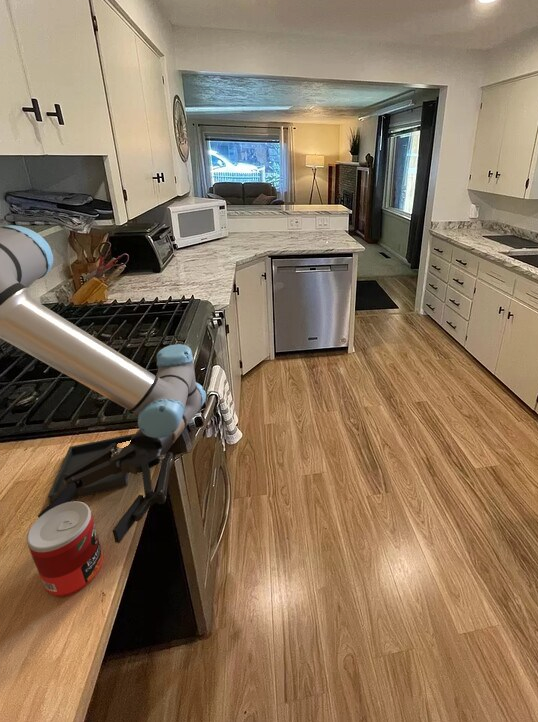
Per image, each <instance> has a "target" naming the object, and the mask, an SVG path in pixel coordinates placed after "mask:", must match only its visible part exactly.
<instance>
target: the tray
mask: <svg viewBox="0 0 538 722" xmlns="http://www.w3.org/2000/svg"><path fill="white" fill-rule="evenodd" d="M135 434H136V433H130V434H127V435H126V434H125V435H121V436H115V437H110V438H106V439H102V440H101V439H100V440H97V441H91V442H85V443H82V444H76V445H71V446H69V448H68V450H67V452H66V454H65V456H64V459H63V461H62V463H61V465H60V468H59V470H58V473H57V475H56V477H55V479H54V481H53V484H52V486H51V488H50V490H49V493H48V495H47V498H48V501H49V504H50V503H51V502H52V498H53V497H54V496H55V495H56V494H57V493H58V492H59V491H60V490H61V489H62V488H63V487H64V486H65V484H64V481H63V478H62V475H63V474H64V473H66V472H68V471H69V470H71V469H73V468H75V467H76V466H78V465H80V464H82V463H83V462H85V461H87V460H89V459H90V458H92V457H94V456H96V455H97V454H99V453H101V452H103V451H104V450H105V449H107V448H108V447H109V446H110V445H111V444H113V443H116V444H118V443H122V442H126V441H130V440H132V438H133V436H134V435H135ZM116 466H117V467H119V466H120V465H119V461H117V462H116ZM129 478H130V473H123V472H120V473H118V474H116V475H115V474H111V475H109V476H107V477H105V478H103V479H101V480H98V481H96V482H94V483H92V484H90V485H88V486H86V487H83V488H81V489H79V490H77V492H78V495H77V496H76V497H75V498H74V499H78V498H83V497H87V496H90V495H95V494H99V493H103V492H108V491H112V490H116V489H120V488H124V487H128V484H129V483H128V482H129ZM77 483H79V481H78V482H77ZM74 499H73V500H74Z"/></svg>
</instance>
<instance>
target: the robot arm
mask: <svg viewBox="0 0 538 722" xmlns="http://www.w3.org/2000/svg"><path fill="white" fill-rule="evenodd" d="M53 265H54V254H53V251H52V248H51V245H49V243H48V242H47V240H45V238H44V237H43V236H41V235H40V234H39V233H38V232H35V231H34V230H32V229H30V228H28V227H25V226H21V225H15V224H14V225H13V224H12V225H11V224H9V225H0V339H1V340H3V341H4V342H6V343H8V344H10V345H12V346H14V347H16V348H17V349H19V350H20V351H23V352H24V353H26V354H27V355H30V356H31V357H33V358H35V359H37V360H39V362H42V363H44V364H45V365H48V366H49V367H51V368H53V369H54V370H56V371H58V372H60V373H62V374H64V375H66V376H67V377H69V378H71V379H73V380H75V381H76V382H78V383H80V384H81V385H83V386H85V387H87V388H88V389H91V390H93V391H94V392H96V393H98V394H99V395H101V396H103V397H104V398H106V399H108V400H110V401H111V402H113V403H115V404H117V405H119V406H121V407H122V408H124V409H126V410H129V411H130V412H131V413H132V414H134V415H136V416H137V426H138V428H139V429H138V430H137V432H136V433H134V434H135V435H134V436H133V438H132V440H131V442H130V444H129V445H128V446H126V447H124V448H119V447H117V444H116V443H113V444H111V445H110V446H109V447H108V448H107V449H105V450H104V451H103V452H101V453H99V454H97V455H96V456H94V457H92V458H90V459H89V460H87V461H85V462H83V463H82V464H80V465H78V466H76V467H75V468H73V469H71V470H69V471H68V472H66V473H64V474H63V475H62V478H63V481H64V484H65V486H64V487H63V488H62V489H61V490H60V491H59V492H58V493H57V494H56V495H55V496H54V497H53V498H52V502H51V503H50V502H49V504H48V505H47V506H46V507H44V509H43V510H41V512H40V513H39V514H38V515H37V517H38V518H39V517H40V516H42V515H43V514H44V513H45V512H47V511H49V510H50V509H52V508H54V507H56V506H58V505H61V504H63V503H67V502H73V500H74V498H75V497H76V496H77V495H78V492H77V490H79V489H81V488H83V487H86V486H88V485H90V484H92V483H94V482H96V481H98V480H101V479H103V478H105V477H107V476H109V475H111V474H115V475H116V474H118V473H120V472H123V473H129V474H132V475H135V476H137V475H138V474H141V475H142V483H143V493H144V494H138V495H137V496H136V498H135V499H134V500H133V501H132V503H131V504H130V506H129V507H128V509H127V510H126V511H125V512H124V514H123V515H122V517H121V518H120V519H119V520H118V522H117V523H116V524H115V526H114V527H113V528H112V529H111V532H112V536H113V539H114V542H115V543H116V544H120V543H121V542H122V540H123V539H124V538H125V536H127V533H128V532H129V531H130V529H131V528H132V527H133V525H134V524H135V522H140V521H141V520H142V519H143V517H144V516H145V514H146V513H147V511H148V510H149V509H150V507H152V506H153V505H154V504H158V505H160V506H161V505H164V504H165V503H166V502H167V495H168V486H169V480H170V473H171V469H172V468H173V466H174V464H175V459H174V455H173V451H169V450H170V449H171V447H172V446H173V444H175V443H176V441H177V440H178V438H179V437H180V436H181V434H183V432H184V430H185V429H186V427H187V426H189V424H190V422H191V421H192V420H193V419H194V418H195V416H196V415H197V414H199V412H200V411H201V409H202V408H203V406H204V404H205V403H206V400H207V392H206V390H205V389H204V388H203V385H201V384H200V383H198V382H197V381H196V371H195V363H194V361H195V359H194V358H193V352H192V349H191V347H189V346H188V345H186V344H180V343H177V344H170V345H167V346H165V347H163V348H161V349H159V350H158V352H157V354H156V366H157V373H156V375H155V374H153V373H152V372H150V371H149V370H147V369H146V368H144V367H142V366H141V365H139V364H138V363H136V362H134V361H133V360H131V359H129V358H128V357H126V356H125V355H123V354H122V353H120V352H119V351H118V350H115V349H114V348H112V347H111V346H109V345H107V344H106V343H104V342H103V341H101V340H99V339H98V338H96V337H95V336H93V335H91V334H90V333H89V332H87V331H85V330H83V329H82V328H80V327H78V326H77V325H75V324H73V322H71V321H69V320H67V319H65V317H63V316H61V315H60V314H59V313H56V312H55V311H54V310H51V309H50V308H48V307H46V306H45V305H43V304H42V303H40V302H39V301H37V300H36V299H34V298H33V297H32V296H31V292H30V291H31V290H30V287H31V286H32V285H33V284H34V283H35V282H36V281H37V280H40V279H42V278H44V277H45V276H46V275H47V274H48V273H49V272H50V270H51V269H52V267H53ZM117 461H119V465H120V466H119V467H117V466H116V462H117ZM159 464H160V468H159V475H158V481H157V488H156V491H154V489H153V483H152V475H151V468H153V467H155V466H157V465H159ZM78 481H79V483H77V482H78ZM75 499H76V498H75ZM38 518H37V519H38Z"/></svg>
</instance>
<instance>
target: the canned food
mask: <svg viewBox="0 0 538 722" xmlns="http://www.w3.org/2000/svg"><path fill="white" fill-rule="evenodd" d="M97 531H98V530H97V528H96V524H95V521H94V517H93V514H92V511H91V509H90V507H89V505H88V504H87V503H85V502H82V501H75V500H74V501H73V500H72V501H71V502H67V503H63V504H61V505H58V506H56V507H54V508H52V509H50V510H49V511H47V512H45V513H44V514H43V515H42V516H40V517H39V518H37V519H36V520H35V521H34V522H33V523H32V525H31V526H30V527H29V529H28V532H27V535H26V544H27V546H28V549H29V553H30V554H31V557H32V560H33V563H34V564H35V567H36V569H37V572H38V574H39V577H40V579H41V581H42V584H43V586H44V589H45V590H46V592H48V593H49V594H50V595H52V596H54V597H58V598H59V597H60V598H64V597H67V596H72V595H74V594H76V593H77V592H79V591H82V590H83V589H84V588H86V587H87V586H88V585H89V584H90V583H91V582H92V581H94V579H95V578H96V577H97V575H98V574H99V573H100V570H101V568H102V565H103V561H104V560H103V559H104V552H103V549H102V545H101V542H100V541H101V540H100V538H99V535H98V532H97Z"/></svg>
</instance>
